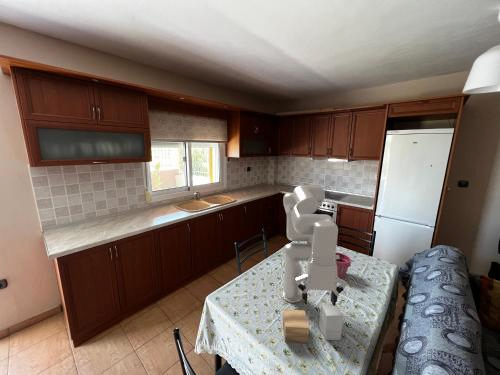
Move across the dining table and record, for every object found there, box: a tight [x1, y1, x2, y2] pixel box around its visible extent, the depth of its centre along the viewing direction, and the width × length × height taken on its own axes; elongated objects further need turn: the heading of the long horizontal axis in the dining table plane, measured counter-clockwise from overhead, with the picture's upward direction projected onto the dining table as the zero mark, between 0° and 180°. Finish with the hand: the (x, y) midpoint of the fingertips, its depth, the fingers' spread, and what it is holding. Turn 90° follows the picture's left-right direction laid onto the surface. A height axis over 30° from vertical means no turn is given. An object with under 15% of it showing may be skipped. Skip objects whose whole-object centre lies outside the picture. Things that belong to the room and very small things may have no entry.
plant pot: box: [336, 251, 352, 279], centre depth 139 cm, size 14×14×13 cm
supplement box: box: [318, 303, 344, 341], centre depth 94 cm, size 7×7×13 cm
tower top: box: [282, 308, 310, 337], centre depth 94 cm, size 10×10×4 cm
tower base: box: [282, 319, 310, 344], centre depth 95 cm, size 10×10×4 cm
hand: (318, 302), depth 73 cm, fingers open, 9 cm apart
